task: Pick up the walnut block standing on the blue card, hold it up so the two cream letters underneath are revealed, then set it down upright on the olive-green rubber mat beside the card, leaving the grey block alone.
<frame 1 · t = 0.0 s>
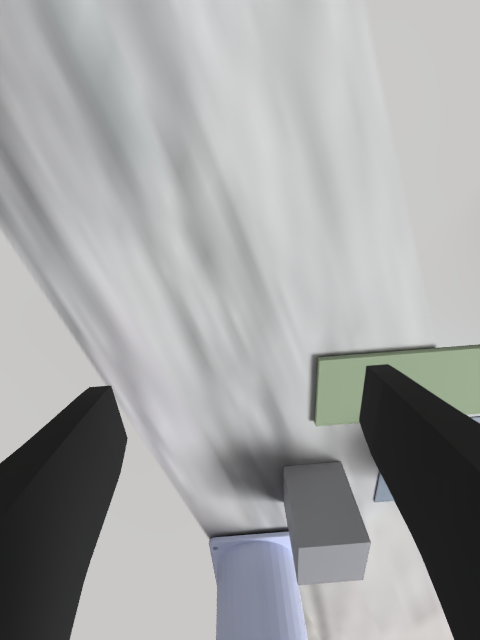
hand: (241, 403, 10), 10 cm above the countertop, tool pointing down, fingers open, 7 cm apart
rubber mat: (404, 384, 22), on the countertop
grey block: (311, 482, 27), on the countertop
blue card: (437, 460, 26), on the countertop
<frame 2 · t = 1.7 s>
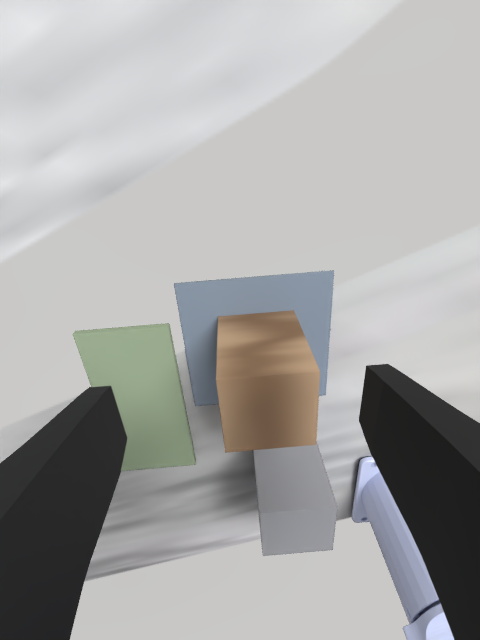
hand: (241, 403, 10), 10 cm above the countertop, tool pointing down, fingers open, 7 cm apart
rubber mat: (143, 403, 23), on the countertop
grey block: (282, 452, 25), on the countertop
blue card: (257, 344, 21), on the countertop
walnut block: (257, 345, 21), resting on blue card
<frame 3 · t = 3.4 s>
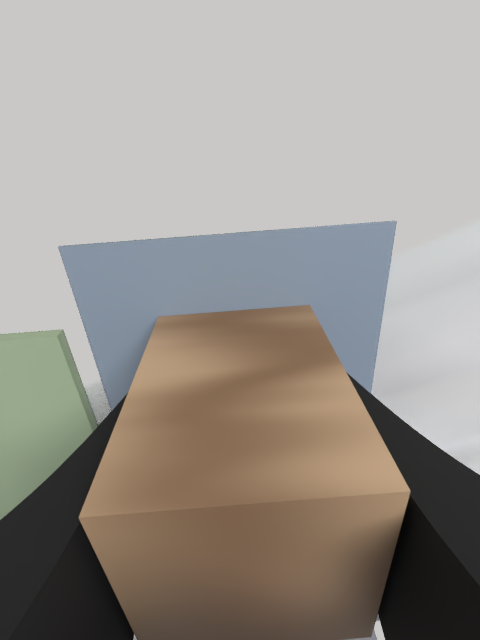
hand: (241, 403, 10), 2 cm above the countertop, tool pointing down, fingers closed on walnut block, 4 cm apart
rubber mat: (39, 470, 13), on the countertop
blue card: (239, 370, 11), on the countertop
walnut block: (239, 372, 11), resting on blue card, touching gripper
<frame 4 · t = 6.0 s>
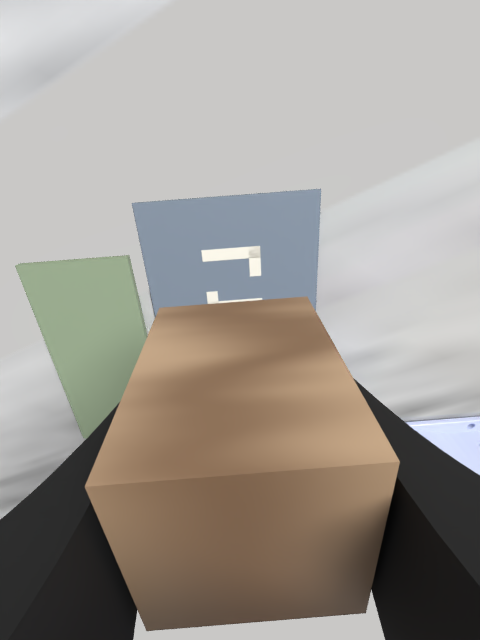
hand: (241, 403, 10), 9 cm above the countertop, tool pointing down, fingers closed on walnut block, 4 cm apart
rubber mat: (104, 357, 20), on the countertop
blue card: (233, 284, 18), on the countertop
walnut block: (238, 363, 11), point 8 cm above the countertop, touching gripper
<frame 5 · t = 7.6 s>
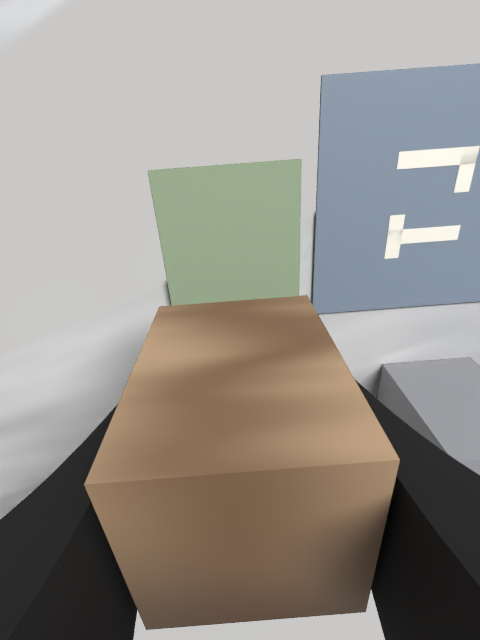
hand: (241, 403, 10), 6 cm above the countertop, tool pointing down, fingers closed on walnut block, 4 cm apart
rubber mat: (236, 309, 15), on the countertop
grey block: (417, 394, 18), on the countertop
blue card: (427, 204, 13), on the countertop
walnut block: (238, 362, 11), point 4 cm above the countertop, touching gripper
when the fingers open (3 cm above the countertop, at t = 8.6 s): walnut block stays where it is, resting on rubber mat.
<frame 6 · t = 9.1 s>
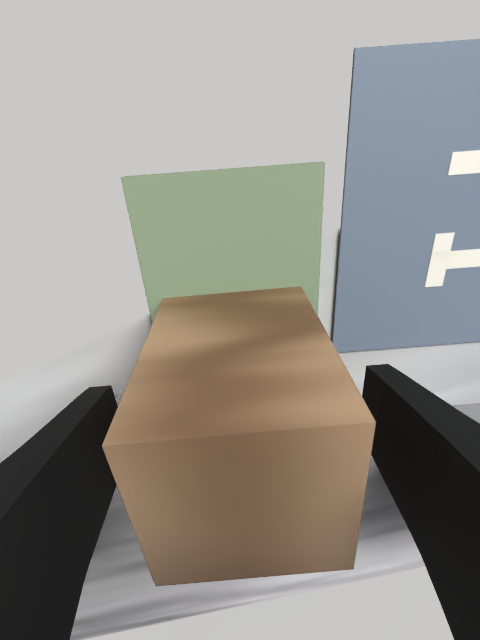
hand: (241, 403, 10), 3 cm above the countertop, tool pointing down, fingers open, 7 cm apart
rubber mat: (237, 347, 12), on the countertop
walnut block: (237, 350, 12), resting on rubber mat
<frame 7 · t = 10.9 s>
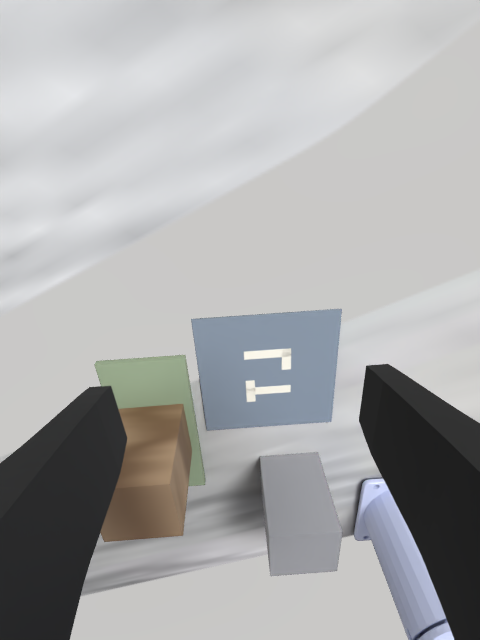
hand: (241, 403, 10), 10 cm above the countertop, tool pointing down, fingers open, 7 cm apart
rubber mat: (157, 427, 24), on the countertop
grey block: (288, 473, 27), on the countertop
blue card: (267, 374, 22), on the countertop
walnut block: (155, 430, 23), resting on rubber mat
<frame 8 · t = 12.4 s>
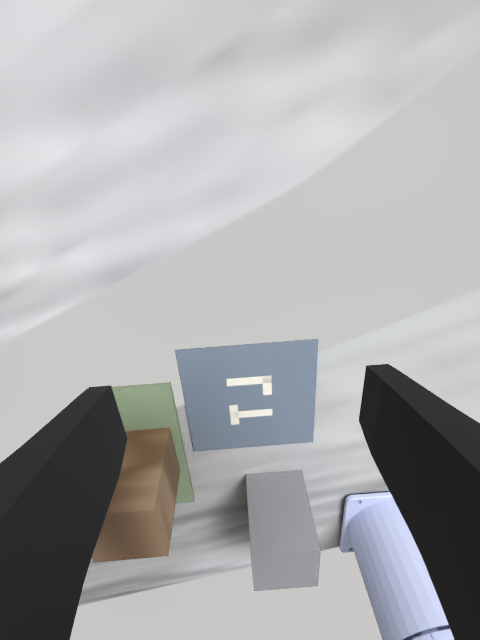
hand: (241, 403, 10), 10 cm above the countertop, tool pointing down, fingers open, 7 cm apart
rubber mat: (146, 449, 25), on the countertop
grey block: (274, 489, 28), on the countertop
blue card: (250, 399, 23), on the countertop
walnut block: (144, 452, 24), resting on rubber mat
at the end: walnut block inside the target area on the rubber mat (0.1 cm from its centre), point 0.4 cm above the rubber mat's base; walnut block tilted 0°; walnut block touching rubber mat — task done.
